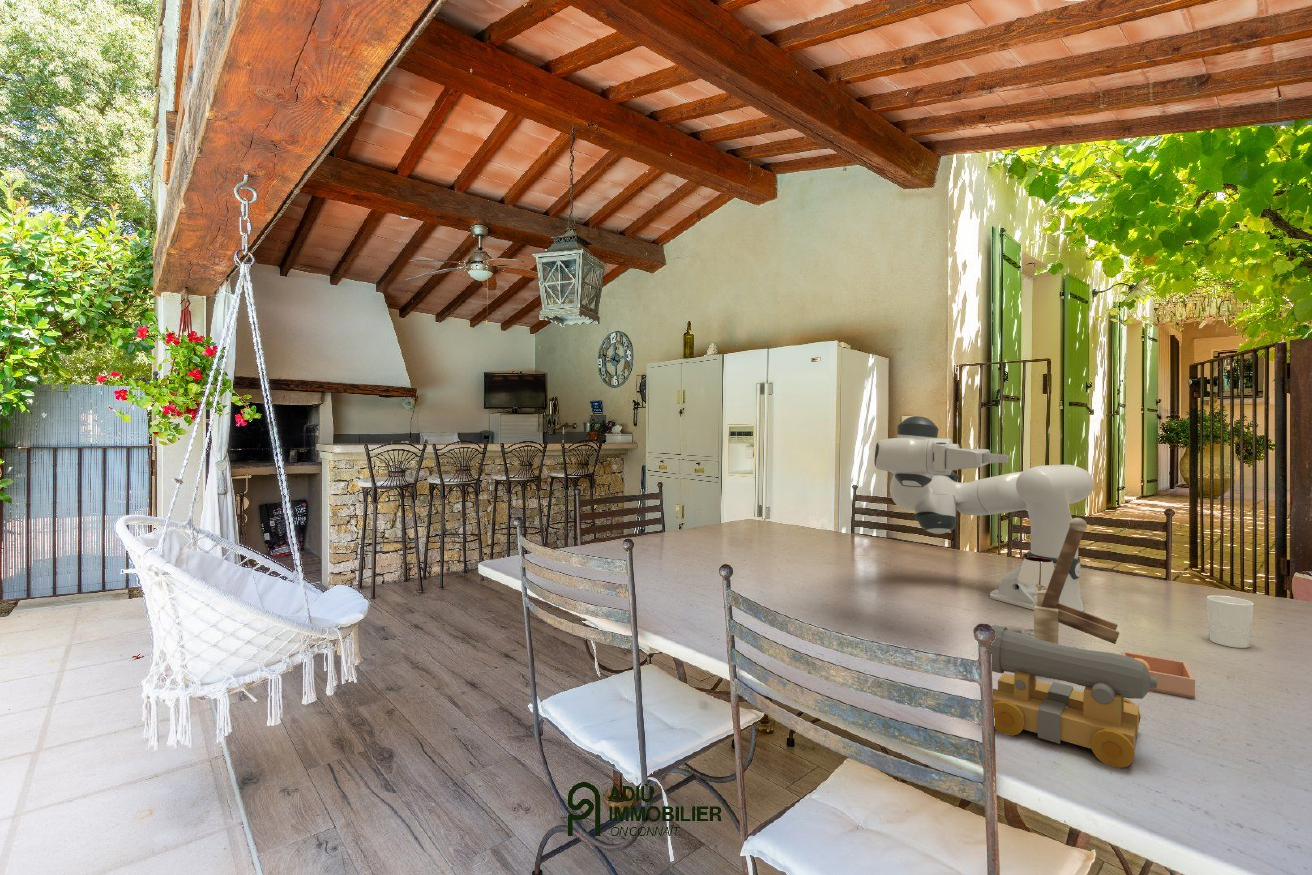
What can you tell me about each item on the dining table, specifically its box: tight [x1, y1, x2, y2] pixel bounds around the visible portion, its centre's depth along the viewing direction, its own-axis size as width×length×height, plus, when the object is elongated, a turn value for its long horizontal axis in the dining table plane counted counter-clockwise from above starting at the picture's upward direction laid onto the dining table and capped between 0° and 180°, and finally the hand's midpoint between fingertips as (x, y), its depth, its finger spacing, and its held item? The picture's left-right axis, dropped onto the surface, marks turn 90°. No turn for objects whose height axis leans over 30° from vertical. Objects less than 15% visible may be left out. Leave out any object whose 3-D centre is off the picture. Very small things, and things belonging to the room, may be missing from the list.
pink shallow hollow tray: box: [1120, 650, 1196, 700], centre depth 119 cm, size 10×10×4 cm
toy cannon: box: [991, 624, 1157, 769], centre depth 99 cm, size 16×22×15 cm
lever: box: [1041, 517, 1120, 645], centre depth 124 cm, size 14×12×22 cm
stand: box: [1033, 591, 1060, 644], centre depth 129 cm, size 9×17×13 cm, turn 146°
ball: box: [1134, 658, 1150, 671], centre depth 120 cm, size 4×4×4 cm
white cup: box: [1206, 595, 1255, 649], centre depth 141 cm, size 8×8×10 cm
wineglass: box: [1018, 557, 1055, 638], centre depth 145 cm, size 8×8×18 cm
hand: (1008, 458), depth 141 cm, fingers closed
